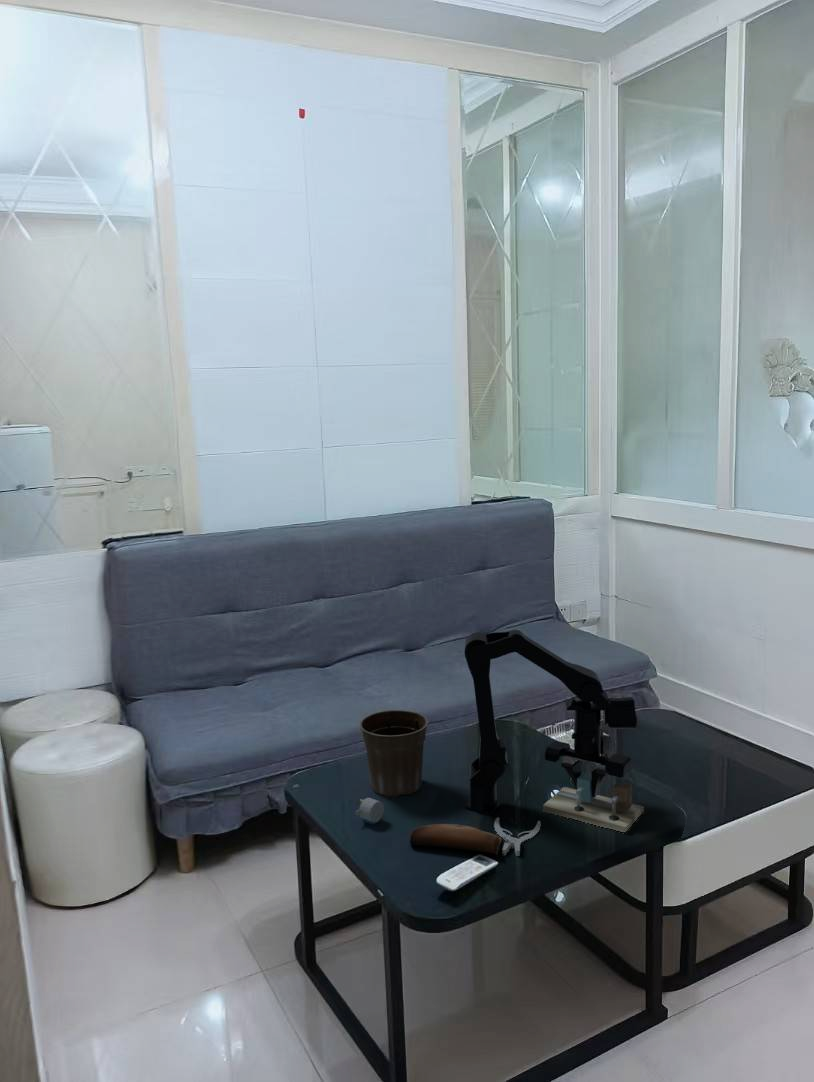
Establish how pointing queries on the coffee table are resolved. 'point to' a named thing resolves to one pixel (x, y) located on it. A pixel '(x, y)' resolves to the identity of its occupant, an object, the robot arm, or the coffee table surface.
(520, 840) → the pliers
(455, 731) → the coffee table surface
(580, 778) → the teal block
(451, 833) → the sunglasses case
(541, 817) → the coffee table surface
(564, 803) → the beige board with blocks
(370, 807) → the electric motor
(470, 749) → the coffee table surface
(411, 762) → the plant pot
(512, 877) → the coffee table surface
